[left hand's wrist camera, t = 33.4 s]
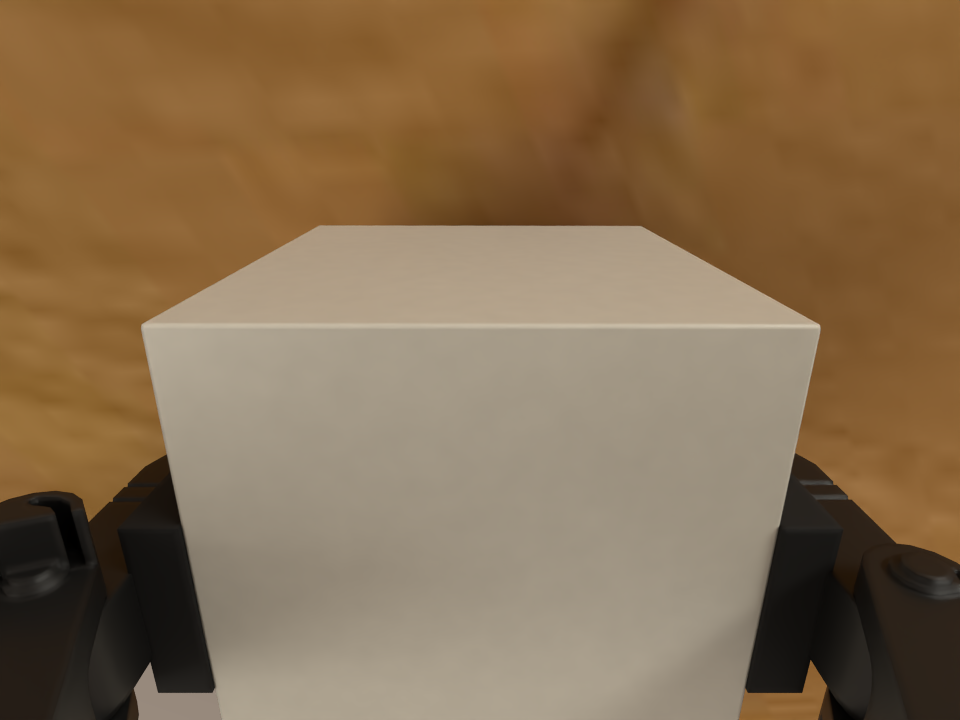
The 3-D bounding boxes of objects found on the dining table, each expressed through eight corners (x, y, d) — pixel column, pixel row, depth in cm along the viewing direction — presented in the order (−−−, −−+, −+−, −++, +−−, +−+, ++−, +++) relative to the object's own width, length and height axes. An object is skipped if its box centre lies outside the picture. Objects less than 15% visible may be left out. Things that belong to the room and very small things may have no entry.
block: (345, 522, 17) (240, 821, 9) (317, 225, 14) (137, 323, 6) (614, 522, 17) (719, 822, 9) (642, 225, 14) (823, 324, 6)
